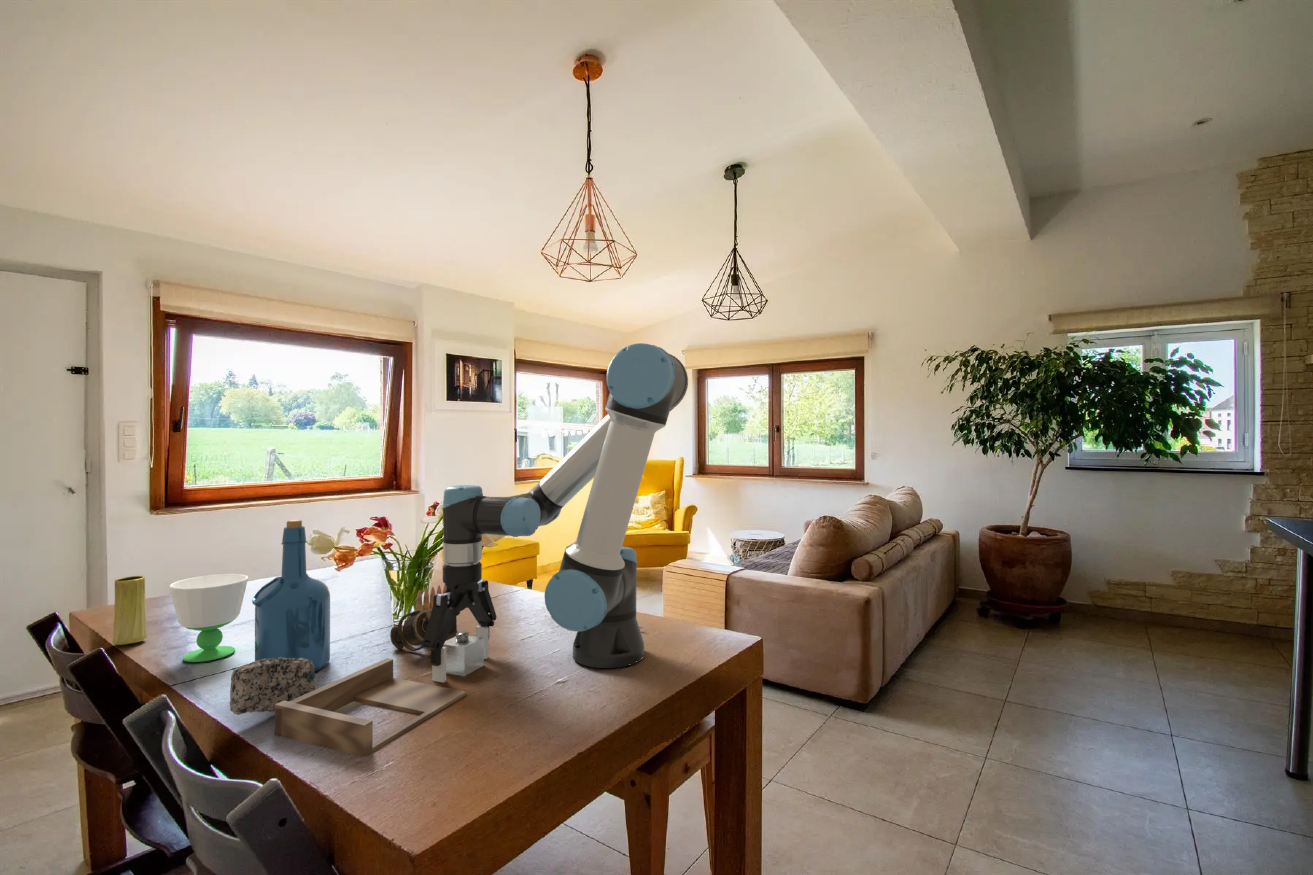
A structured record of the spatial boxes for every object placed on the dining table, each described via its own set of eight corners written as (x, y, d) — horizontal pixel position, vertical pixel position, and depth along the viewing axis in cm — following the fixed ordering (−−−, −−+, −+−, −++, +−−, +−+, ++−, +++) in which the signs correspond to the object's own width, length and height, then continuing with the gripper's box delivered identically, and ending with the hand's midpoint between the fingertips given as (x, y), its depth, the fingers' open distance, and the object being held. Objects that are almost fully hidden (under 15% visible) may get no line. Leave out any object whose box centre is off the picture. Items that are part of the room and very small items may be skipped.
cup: (255, 653, 128) (256, 580, 128) (174, 672, 118) (175, 592, 118) (239, 639, 138) (240, 570, 138) (163, 654, 127) (163, 580, 128)
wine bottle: (320, 651, 130) (320, 514, 130) (339, 669, 120) (340, 520, 120) (245, 668, 120) (245, 520, 120) (259, 688, 110) (260, 527, 111)
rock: (303, 653, 107) (319, 651, 105) (302, 705, 105) (318, 703, 103) (228, 663, 96) (244, 660, 94) (224, 721, 94) (241, 720, 92)
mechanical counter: (428, 662, 124) (428, 614, 124) (373, 657, 126) (373, 610, 126) (446, 650, 131) (447, 605, 131) (395, 646, 133) (395, 601, 133)
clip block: (483, 667, 122) (484, 630, 122) (464, 678, 116) (464, 639, 116) (460, 663, 124) (460, 627, 124) (439, 673, 118) (439, 635, 118)
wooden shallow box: (466, 697, 107) (466, 669, 107) (364, 759, 86) (364, 725, 86) (387, 681, 114) (387, 655, 114) (274, 736, 93) (274, 704, 93)
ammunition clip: (418, 644, 135) (418, 591, 135) (413, 642, 136) (413, 590, 136) (457, 631, 144) (457, 581, 144) (452, 630, 145) (452, 580, 145)
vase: (105, 642, 135) (105, 579, 135) (137, 634, 140) (137, 574, 140) (121, 646, 132) (121, 582, 132) (153, 638, 138) (153, 576, 138)
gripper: (485, 550, 133) (484, 646, 133) (401, 573, 110) (401, 689, 110) (513, 552, 130) (512, 650, 130) (434, 577, 107) (433, 696, 107)
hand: (461, 668), depth 120 cm, fingers open, 12 cm apart
